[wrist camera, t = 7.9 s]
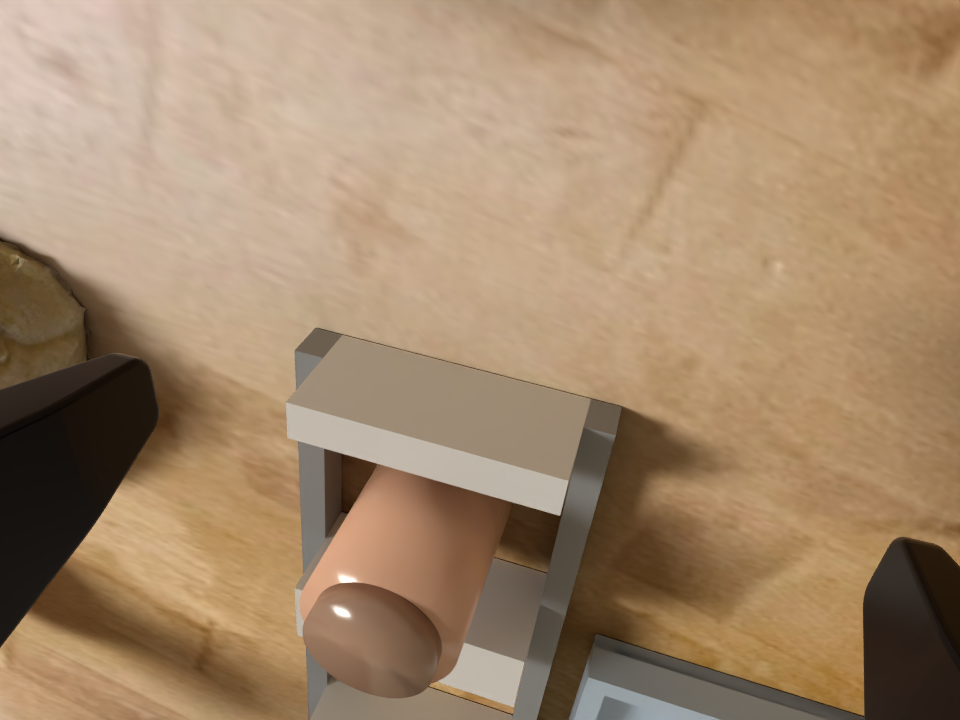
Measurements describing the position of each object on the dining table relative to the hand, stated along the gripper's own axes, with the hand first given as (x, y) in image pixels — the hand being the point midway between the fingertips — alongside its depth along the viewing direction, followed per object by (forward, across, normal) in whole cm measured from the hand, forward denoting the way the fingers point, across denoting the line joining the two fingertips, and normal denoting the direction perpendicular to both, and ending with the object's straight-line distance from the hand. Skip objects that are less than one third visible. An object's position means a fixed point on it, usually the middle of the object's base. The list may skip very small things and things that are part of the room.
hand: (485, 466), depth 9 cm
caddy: (+13, +4, +23) cm, 27 cm away
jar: (+13, +4, +13) cm, 19 cm away
